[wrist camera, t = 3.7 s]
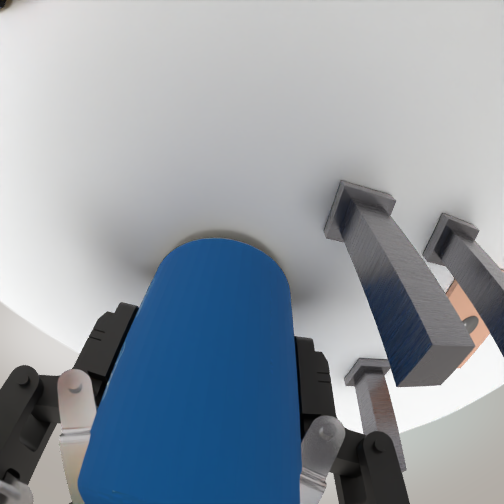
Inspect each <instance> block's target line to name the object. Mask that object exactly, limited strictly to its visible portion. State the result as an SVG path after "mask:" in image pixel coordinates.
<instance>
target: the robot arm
mask: <svg viewBox="0 0 504 504" xmlns="http://www.w3.org/2000/svg"><path fill="white" fill-rule="evenodd" d="M138 310H139V307H138V306H135V305H131V304H127V303H123V302H121V303H120V304H119V305H118V307H117V309H116V311H115V313H111V312H108V311H107V312H106V313H105V314H104V315H102V316H101V317H100V318H99V319H98V321H97V322H96V324H95V326H94V328H93V330H92V332H91V334H90V335H89V338H88V339H87V341H86V343H85V345H84V347H83V349H82V351H81V353H80V355H79V357H78V359H77V361H76V363H75V365H74V367H73V368H72V369H71V370H67V371H65V372H64V373H62V375H60V376H46V375H38V373H37V372H36V370H35V369H33V368H32V367H30V366H26V365H23V366H19V367H17V368H15V369H14V370H13V371H12V373H11V374H10V376H9V377H8V379H7V380H6V382H5V383H4V385H3V386H2V388H1V389H0V504H33V494H32V492H31V490H30V488H29V487H28V484H29V481H30V479H31V477H32V475H33V472H34V470H35V468H36V466H37V463H38V461H39V459H40V457H41V455H42V453H43V451H44V449H45V447H46V445H47V442H48V440H49V438H50V436H51V434H52V432H53V430H54V429H55V427H56V425H57V423H61V427H62V434H61V435H60V437H59V445H60V451H61V456H62V461H63V466H64V471H65V475H66V480H67V484H68V487H69V491H70V495H71V499H72V502H71V503H69V504H85V503H84V501H83V499H82V497H81V495H80V493H79V490H78V485H77V480H78V477H79V473H80V470H81V466H82V463H83V460H84V456H85V453H86V450H87V447H88V444H89V440H90V435H91V433H90V430H91V427H92V424H93V421H94V418H95V415H96V413H97V410H98V407H99V404H100V402H101V399H102V396H103V394H104V391H105V388H106V386H107V383H108V381H109V378H110V375H111V373H112V370H113V368H114V365H115V363H116V361H117V358H118V356H119V353H120V351H121V348H122V346H123V344H124V341H125V339H126V337H127V334H128V332H129V330H130V328H131V325H132V323H133V321H134V319H135V316H136V314H137V312H138ZM294 342H295V354H296V368H297V382H298V397H299V414H300V433H301V456H302V472H301V474H300V504H318V503H319V501H320V499H321V497H322V495H323V493H324V491H325V489H326V483H325V480H326V477H327V475H328V473H329V472H331V473H333V474H334V479H335V484H336V490H337V495H338V500H339V504H410V503H409V499H408V495H407V491H406V487H405V483H404V480H403V476H402V472H401V468H400V465H399V461H398V458H397V454H396V451H395V447H394V444H393V441H392V439H391V438H390V437H389V436H388V435H387V434H386V433H384V432H381V431H373V432H371V433H369V434H368V435H364V434H360V433H357V432H354V431H351V430H348V429H346V428H345V427H344V426H343V424H342V423H341V422H340V421H339V420H338V419H337V417H336V413H335V406H334V398H333V392H332V385H331V378H330V375H329V373H330V372H329V365H328V361H327V360H326V358H325V356H324V355H323V353H322V352H316V351H314V343H313V340H312V339H311V338H304V337H296V336H294Z"/></svg>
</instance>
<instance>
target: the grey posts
mask: <svg viewBox="0 0 504 504" xmlns="http://www.w3.org/2000/svg"><path fill="white" fill-rule="evenodd" d="M478 232H479V230H478V229H477V228H476V227H475V226H474V225H472V224H470V223H467V222H465V221H462V220H460V219H457V218H455V217H452V216H449V215H447V214H444V213H442V215H441V218H440V220H439V222H438V224H437V226H436V229H435V231H434V233H433V235H432V237H431V239H430V241H429V243H428V245H427V247H426V249H425V251H424V253H423V256H424V258H425V259H426V260H427V262H431V263H435V264H439V265H443V266H446V267H447V268H448V270H449V271H450V273H451V274H452V275H453V277H454V278H455V280H456V281H457V282H458V284H459V285H460V287H461V288H462V290H463V291H464V292H465V294H466V295H467V297H468V298H469V300H470V301H471V303H472V304H473V306H474V307H475V309H476V311H477V312H478V314H479V315H480V317H481V319H482V320H483V322H484V323H485V325H486V327H487V328H488V330H489V332H490V333H491V335H492V337H493V339H494V340H495V342H496V344H497V346H498V347H499V349H500V351H501V353H502V355H503V357H504V273H503V272H502V270H501V269H500V268H499V267H498V266H497V265H496V263H495V262H494V261H493V260H492V259H491V258H490V257H489V256H488V254H487V253H486V252H485V251H484V250H483V249H482V248H481V247H480V246H479V245H478V244H477V243H476V242H475V241H474V240H475V238H476V236H477V234H478ZM390 368H391V367H390V364H389V360H376V359H360V358H359V360H358V361H357V362H356V364H355V365H354V367H353V368H352V369H351V371H350V372H349V373H348V375H347V376H346V377H345V379H344V380H345V385H346V386H355V389H356V394H357V399H358V405H359V410H360V415H361V421H362V427H363V433H364V435H368V434H369V433H371V432H373V431H381V432H384V433H386V434H387V435H388V436H389V437H390V438H391V439H392V441H393V444H394V447H395V451H396V454H397V458H398V461H399V465H400V468H401V472H404V471H406V465H405V460H404V455H403V450H402V445H401V440H400V437H399V432H398V427H397V423H396V419H395V415H394V411H393V407H392V403H391V399H390V395H389V391H388V388H387V384H386V380H385V377H384V375H385V374H386V373H387V372H388V371H389V369H390Z"/></svg>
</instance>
